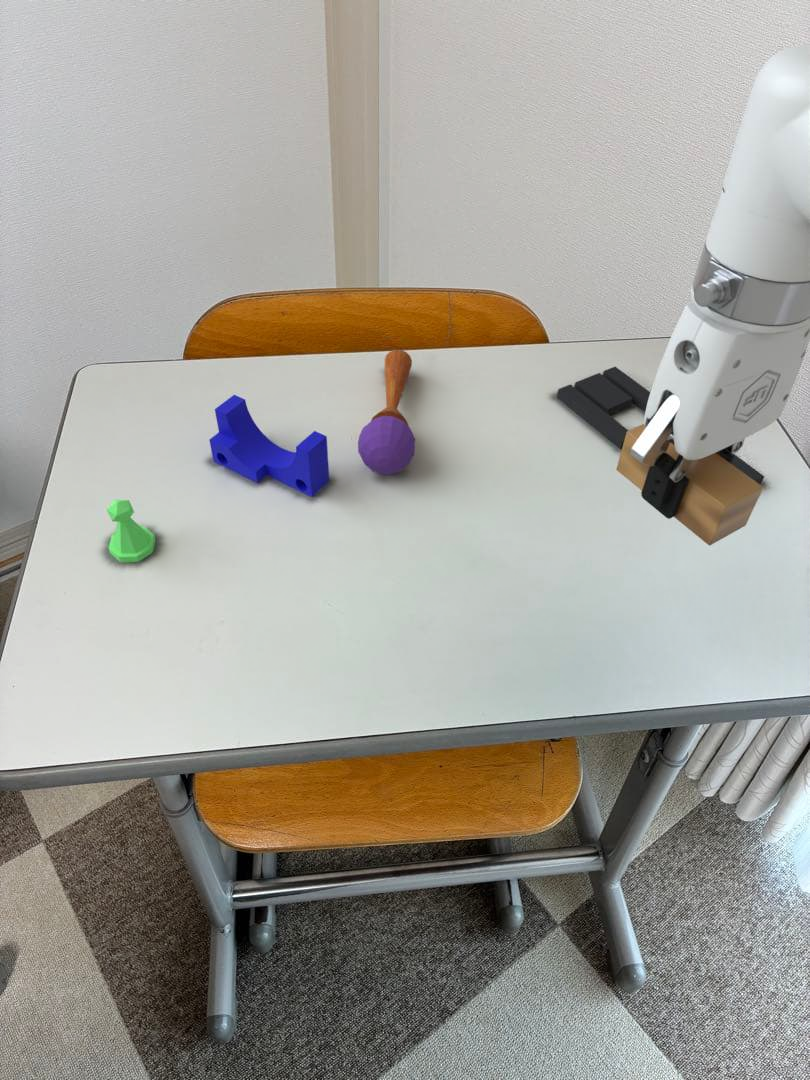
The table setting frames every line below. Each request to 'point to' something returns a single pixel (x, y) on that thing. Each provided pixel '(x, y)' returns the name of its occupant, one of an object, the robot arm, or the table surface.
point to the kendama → (389, 423)
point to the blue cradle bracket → (267, 451)
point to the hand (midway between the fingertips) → (680, 493)
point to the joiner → (702, 491)
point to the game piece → (128, 534)
